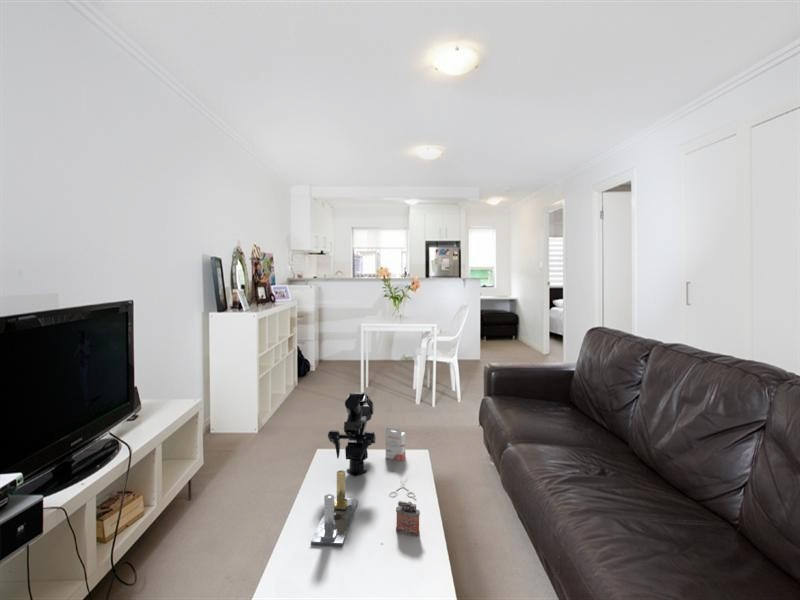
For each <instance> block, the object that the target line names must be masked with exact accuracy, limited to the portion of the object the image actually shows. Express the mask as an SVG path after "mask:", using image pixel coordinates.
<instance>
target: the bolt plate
mask: <svg viewBox="0 0 800 600" xmlns="http://www.w3.org/2000/svg"><path fill="white" fill-rule="evenodd" d="M323 499H324V500H323V501H324V503H323V507H324V509H323V511H324V512H323V515H322V516H321V520H320V521H319V523H318V525H317V527H316V530H315V532H314V534H313V536H312V538H311V540H310V545H311V546H318V547H319V546H320V547H321V546H322V547H323V546H324V547H333V548H336V547H337V548H343V547H344V544H345V541H346V537H347V534H348V532H349V528H350V526H351V523H352V519H353V517H354V514H355V511H356V508H357V505H358V502H359V499H358V498H351V497H345V501H348V505H347V508H346V509H334V504H335V502H336V500H337V497H335V496H334V494H332V493H330V494H325V495H324V498H323Z"/></svg>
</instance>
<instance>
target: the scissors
mask: <svg viewBox="0 0 800 600" xmlns="http://www.w3.org/2000/svg"><path fill="white" fill-rule="evenodd" d="M409 475H410V474H408V475H407V476H406V477H405V479H404V480H403V477H402V475H401V474H399V480H400V486H399V488H396V489H395V490H394V491H391V492H389V494H388V496H389V497H390V498H395V496H396V497H397V496H398V491H399V490H401V489H404V490H406V491H407V493H406V496H407V497H408V498H412V499H414V500H415V501H417V498H416V497H415V496H416V493H415V492H413V491H410V489H408V488H407V487H406V483H407V481H408V478H409ZM397 490H398V491H397ZM395 493H396V494H395ZM391 494H394V495H391ZM410 494H412V495H410Z"/></svg>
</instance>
